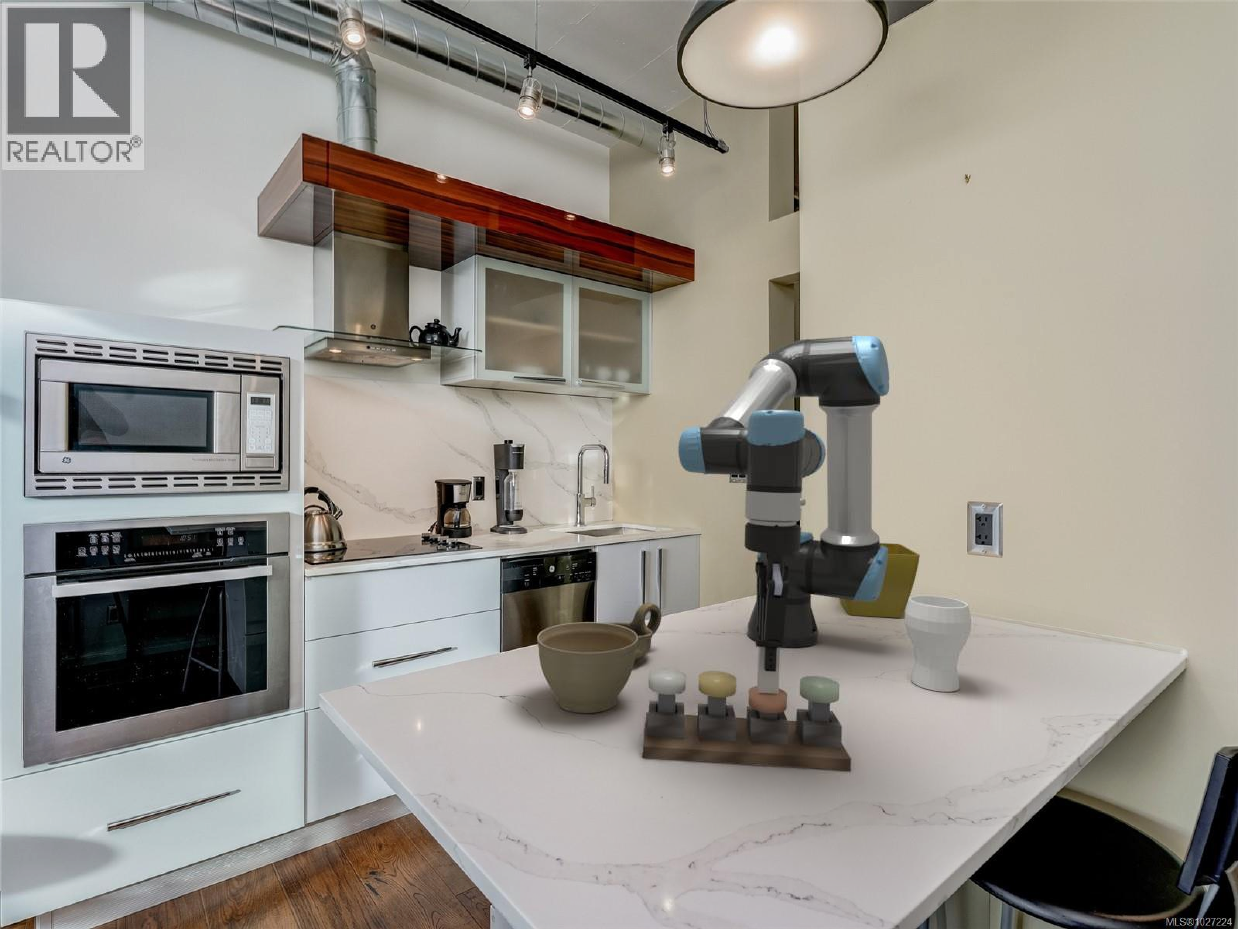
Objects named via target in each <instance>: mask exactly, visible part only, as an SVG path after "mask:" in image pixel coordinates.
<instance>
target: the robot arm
mask: <svg viewBox="0 0 1238 929" xmlns="http://www.w3.org/2000/svg"><path fill="white" fill-rule="evenodd" d="M749 373H750V374H749V377H748V381H747V382H746V383H744V385H743V386H742V387H741V388H740V389H739V391H737V393H736V394H735V395H734V396H733V397H732V398H731V400H730V401H729V402H728V403H727V404H726V405H725V406H724V407H723V408H722V409H721V411H720V412H718V414H717V415H716V416H715V417H714V419H712V421H711V422H710V423H709V424H708V425H707V426H705V427H703V426H702V427H701V426H696V427H687V428H686V429H684V431H683V432H682V433H681V435H680V438H679V440H678V448H677V450H678V451H677V452H678V458H679V463H680V465H681V467H682V468H683V470H685V471H687V472H688V473H694V474H695V473H696V474H703V475H735V476H737V475H738V476H746V485H745V486H746V489H745V498H744V499H745V501H744V503H745V504H744V507H745V508H744V517H745V519H746V520H748V522H747V523H746V524H745V525H744V548H745V549H746V550H748V551H751V552H753V553H754V552H755V553H757V555H756V559H757V560H756V562H755V565H754V567H755V568H754V570H755V571H754V572H755V573H756V601H755V603H754V607H753V609H752V611H751V615H750V617H749V620H748V622H747V633H746V634H747V636H748V638H750V639H751V640H753V641H755V647H756V648H758V649H757V650H758V652H757V681H756V682H757V683H756V684H757V685H756V686H757V690H758V692H759V693H772V694H778V693H779V689H780V687H779V686H780V656H781V655H780V653H781V652H780V651H781V648H804V647H810V646H814V645H816V644H817V643H818V642H819V630H818V629H819V628H818V626H817V623H816V619H815V615H814V613H813V609H812V602H811V601H812V595H815V596H823V597H828V598H836V599H839V598H841V599H848V600H853V601H856V600H857V601H869V602H871V601H874V600H876V599H877V598H878V597H879V595H880V592H881V589H882V585H883V581H884V577H885V572H886V567H887V560H888V548H887V547H884V546H882V545H881V546H880V543H881V541H880V536H879V534H878V533H877V532H876V531H875V530H873V527H872V522H873V521H872V520H873V519H872V518H873V515H872V514H873V513H872V510H873V509H872V505H873V504H872V502H873V499H872V498H873V496H872V494H873V491H872V489H873V485H872V482H873V481H872V480H873V475H872V474H873V473H872V472H873V467H872V466H873V460H872V459H873V456H872V455H873V454H872V452H873V448H872V447H873V413H874V411H875V410H876V409H877V408H878V407H880V405H881V397H884V396H887V395H888V394H889V391H890V370H889V363H888V356H887V352H886V350H885V346H884V343H883V342H882V340H881V339H880V338H879V337H878V336H873V335H852V336H841V337H838V336H837V337H826V338H825V337H824V338H814V339H811V338H810V339H809V338H808V339H800V340H795V341H792V342H789V343H786V344H785V345H783V346H779V347H778V348H776V349H775V350H772V351H771V352H770V353H768V354H767V355H765V356H764V357H762V359H760V360H759V361H758V362H757V363H756V364H755V365H754V366H753V367H752V368H751V371H750V372H749ZM804 397H807V398H808V397H809V398H813V397H814V398H818V408H820V409H821V410H822V411H823V412H824V413H825V415H826V445H825V444H824V441H823V440H822V438H821V437H820V436H819V435H818V434H817V433H816V432H813V431H812V430H811V429H808V428H806V427H805V417H804V415H803V413H802V412H801V411H798V410H790V409H789V410H788V409H778V408H779V407H780V405H783V404H785V403H786V402H788V401H789V400H791V399H792V398H804ZM825 459H826V477H827V478H826V482H827V484H826V485H827V488H826V489H827V498H826V499H827V526H826V529H824V530H823V531H822V532H821V533H820V535H819V539H820V540H819V539H818V540H816V539H814V538H815V537H814V536H813V533H812V532H810V531H808V532H807V531H802V528H801V526H800V525H799V524H797V523H798V522H799V521H801V520H802V508H801V507H802V506H803V507H804V506H806V504H807V503H806V502H807V501H806V499H805V498H802V497H803V496H802V491H803V479H805V478H806V477H809V476H811V475H813V474H816V472H818V471H819V469H821V467H822V466H823V465H824V462H825Z"/></svg>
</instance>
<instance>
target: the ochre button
mask: <svg viewBox="0 0 1238 929" xmlns="http://www.w3.org/2000/svg"><path fill="white" fill-rule="evenodd" d="M698 692H700V693H701V694H703V695H704V696H707V704H708V706H707V712H708V715H711V716H726V705H727V698H729V697H732V696H735V695H736V693H737V677H736V676H735V675H734V674H732V673H730V672H725V671H720V670H710V671H703V672H701V673H699V675H698Z"/></svg>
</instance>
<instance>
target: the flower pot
mask: <svg viewBox="0 0 1238 929" xmlns="http://www.w3.org/2000/svg"><path fill="white" fill-rule="evenodd" d="M881 545H882V546H884V547H887V548H888V560H887V567H886V572H885V577H884V581H883V585H882V589H881V592H880V595H879V597H878V598H877V599H876V600H874V601H871V602H869V601H857V600H856V601H853V600H848V599H841V598H838V599H839V601H840V605H841V606H842V608H843V609H844V610H845V612H846V613H847V614H848V615H850V616H861V617H879V618H894V619H895V618H901V617H902V615H903V613H905V610H906V606H907V603H908V599H909V598H910V597H911V595H912V594H911V593H912V591H913V587H914V583H915V580H916V576H917V572H918V567H919V563H920V562H919V561H920V554H919V553H917V552H916V551H913V550H912V549H910V548H908V547H906V546H905V545H903V544H900V543H889V542H888V543H887V542H885V543H884V542H880V546H881Z"/></svg>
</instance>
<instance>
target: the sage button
mask: <svg viewBox="0 0 1238 929" xmlns="http://www.w3.org/2000/svg"><path fill="white" fill-rule="evenodd" d="M799 682H800V683H799V695H800V696H801V698H803V699H805V700H807V702H808V704H807V705H808V706H807V709H808V718H809V720H810V721H816V722H830V711H831V704H833V703H836V702H837V703H838V701H839V700H840V688H841V687H840V686H841V685H840V683H839V682H837V681H836V680H834V679H832V678H828V677H824V676H820V675H818V676H817V675H811V676H810V675H809V676H808V675H807V676H803V677H802V678H800V680H799Z"/></svg>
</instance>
